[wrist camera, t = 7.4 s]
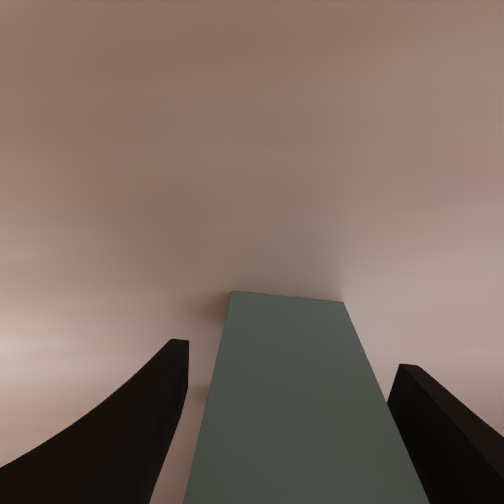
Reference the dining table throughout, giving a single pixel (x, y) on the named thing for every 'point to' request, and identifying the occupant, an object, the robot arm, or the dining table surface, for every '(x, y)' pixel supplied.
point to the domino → (297, 413)
